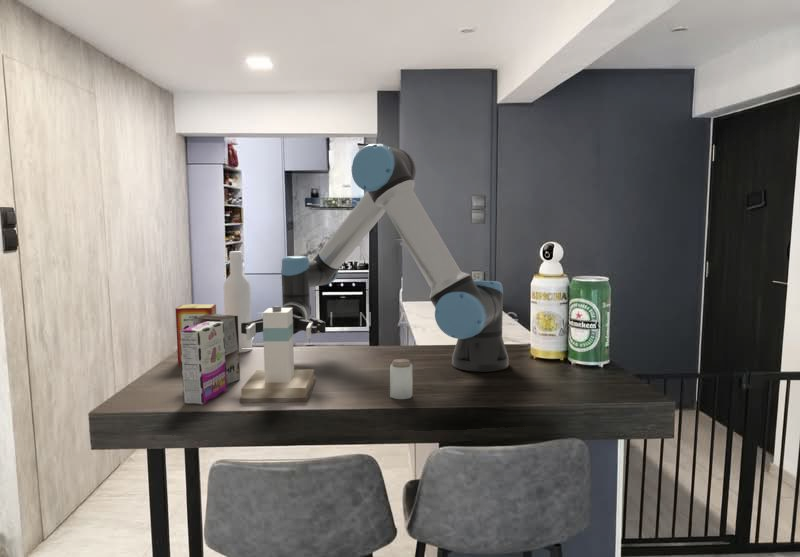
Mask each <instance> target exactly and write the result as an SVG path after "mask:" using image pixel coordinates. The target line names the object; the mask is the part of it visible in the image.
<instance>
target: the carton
mask: <svg viewBox="0 0 800 557" xmlns="http://www.w3.org/2000/svg"><path fill="white" fill-rule="evenodd" d="M262 317H263V332H262V336H263V338H262V340H263V363H264V368H263V370H265V383H282V382H290V380H291V379H292V377H293V375H294V370H295V359H294V355H295V354H294V334H293V313H292V308H282V306H281V305H273V306H272V307H268V308H266V309H265V311H263V312H262Z"/></svg>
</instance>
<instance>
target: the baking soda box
mask: <svg viewBox="0 0 800 557" xmlns="http://www.w3.org/2000/svg"><path fill="white" fill-rule="evenodd" d="M208 314H217V304H216V303H214V304H205V303H204V304H203V303H201V304H199V303H191V304H182V305H179V306H177V307H175V326H176V327H175V328H176V330H175V331H176V346H177V347H176V348H177V365H178V364H182V360H181V343H180V331H181V330H184V329H186V328H189V327H192V326H193V318H196V317H200V316H203V315H208Z"/></svg>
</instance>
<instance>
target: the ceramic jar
mask: <svg viewBox="0 0 800 557" xmlns="http://www.w3.org/2000/svg"><path fill="white" fill-rule="evenodd" d="M389 366H390V367H389V397H390V398H392V399H395V400H407V399H408V400H409V399H411V398H412V397H413V364H412V363H411V360H410V359H406V358H397V359H393V360H392V363H391V364H390V365H389Z"/></svg>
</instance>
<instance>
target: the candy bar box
mask: <svg viewBox="0 0 800 557" xmlns="http://www.w3.org/2000/svg"><path fill="white" fill-rule="evenodd" d="M180 343H181V360H182V365H181V372H182V386H183V387H182V389H183V390H182V392H183V403H184V404H186V405H205V404H207V403H209V402H210V401H212V400H213V399H215V398H216V397H219V395H222V394H223V393H225V392H226V391H227V390H228V384H227V380H226V361H225V342H224V322H216V321H212V322H211V321H207V322H203V323H200V324H197V325H195V326H192V327H189V328H186V329H184V330H181V331H180Z"/></svg>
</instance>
